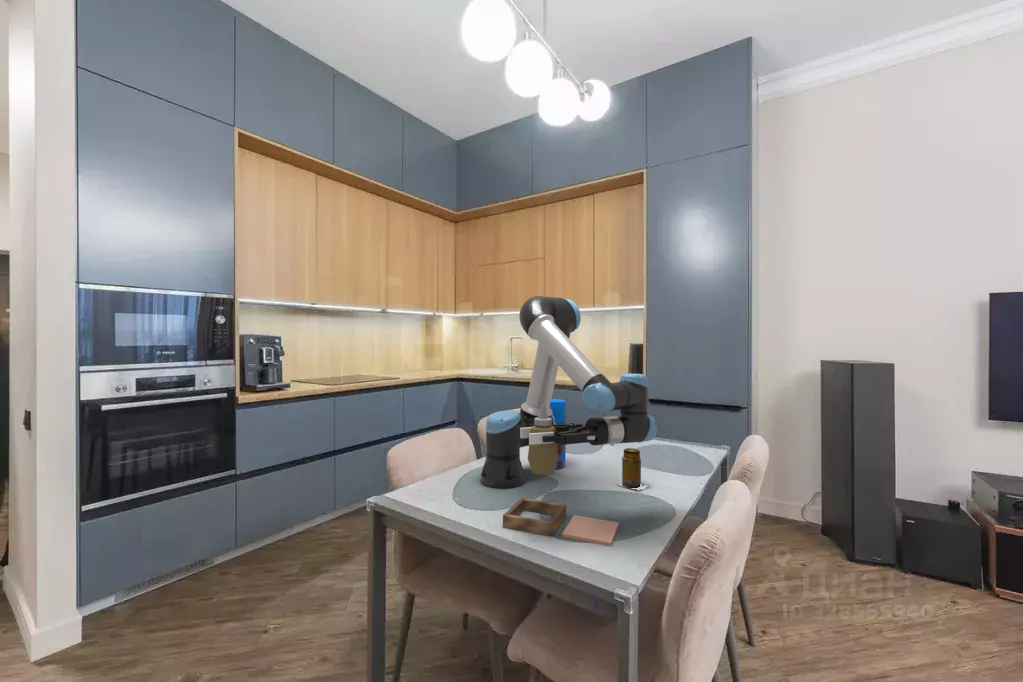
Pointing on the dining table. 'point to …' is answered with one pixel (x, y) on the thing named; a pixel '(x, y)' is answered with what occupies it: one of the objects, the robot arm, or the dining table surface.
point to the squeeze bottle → (543, 447)
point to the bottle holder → (535, 525)
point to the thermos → (560, 418)
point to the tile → (591, 530)
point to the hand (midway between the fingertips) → (525, 436)
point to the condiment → (631, 469)
